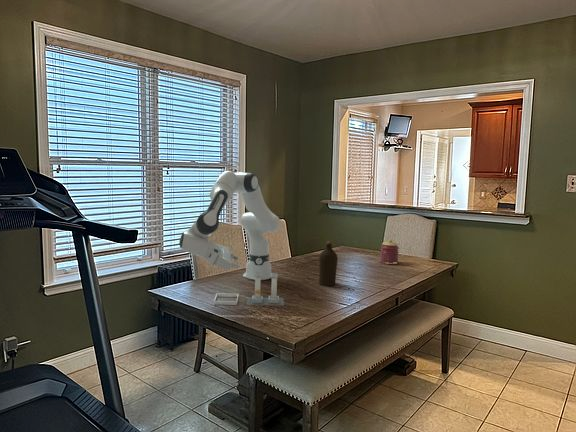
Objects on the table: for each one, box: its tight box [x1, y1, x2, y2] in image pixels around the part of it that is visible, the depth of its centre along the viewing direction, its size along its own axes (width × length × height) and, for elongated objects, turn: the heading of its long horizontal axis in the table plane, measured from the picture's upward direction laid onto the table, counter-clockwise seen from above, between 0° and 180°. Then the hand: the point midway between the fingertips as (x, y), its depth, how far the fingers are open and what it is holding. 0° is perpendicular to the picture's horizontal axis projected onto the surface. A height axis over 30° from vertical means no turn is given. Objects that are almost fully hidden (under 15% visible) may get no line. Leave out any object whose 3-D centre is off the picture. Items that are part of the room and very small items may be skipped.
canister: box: [379, 238, 400, 263], centre depth 319 cm, size 13×13×18 cm
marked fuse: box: [254, 272, 262, 298], centre depth 215 cm, size 3×3×14 cm
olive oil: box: [318, 240, 338, 287], centre depth 254 cm, size 11×11×25 cm
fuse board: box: [246, 294, 285, 306], centre depth 216 cm, size 12×18×3 cm, turn 93°
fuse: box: [270, 272, 278, 299], centre depth 215 cm, size 3×3×14 cm
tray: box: [213, 292, 240, 306], centre depth 215 cm, size 13×11×2 cm
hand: (238, 262), depth 215 cm, fingers open, 8 cm apart
